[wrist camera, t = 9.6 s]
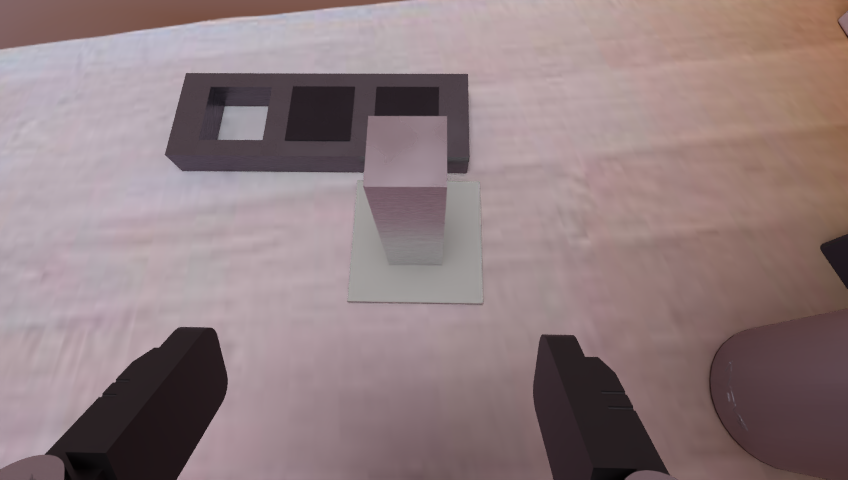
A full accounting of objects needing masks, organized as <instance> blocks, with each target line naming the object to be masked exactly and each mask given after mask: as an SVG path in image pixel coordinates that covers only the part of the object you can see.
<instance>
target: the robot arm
mask: <svg viewBox="0 0 848 480" xmlns="http://www.w3.org/2000/svg"><path fill="white" fill-rule="evenodd" d="M710 383H711V393H712V398H713V401H714V404H715V408H716V411H717V413H718V415H719V417H720V419H721V421H722V423H723V425H724V426H725V427H726V429H727V430H728V431H729V433H730V434H731V436H732V437H733V438H734V439H735V440H736V441H737V442H738V443H739V444H740V445H741V446H742V447H743V448H744V449H745V450H746V451H747V452H749V453H750V454H751V455H753V456H754V457H756V458H757V459H759V460H760V461H762V462H764V463H766V464H769V465H771V466H773V467H775V468H778V469H782V470H787V471H791V472H795V473H800V474H805V475H809V476H814V477H819V478H823V479H828V480H848V309H843V310H838V311H834V312H829V313H824V314H820V315H815V316H810V317H805V318H801V319H796V320H790V321H786V322H781V323H777V324H772V325H767V326H763V327H758V328H754V329H749V330H745V331H742V332H740V333H738V334H736V335H734V336H732V337H731V338H730V339H729V340H727V341H726V342H725V343H724V344H723V345H722V347H721V348H720V350H719V351H718V352H717V354H716V356H715V359H714V362H713V364H712V369H711V378H710ZM227 384H228V378H227V372H226V368H225V364H224V360H223V356H222V352H221V348H220V344H219V340H218V336H217V333H216V331H215V330H214V329H213V328H204V327H180V328H177V329H176V330H175V331H174V332H173V333H172V334H171V335H170V336H169V337H168V338H167V340H166V341H165V342H164V343H163V344H162V345H161V346H160V347H159V348H153V349H152V350H150V351H149V352H147V353H146V354H144V355H142V356H141V357H139V358H138V359H136V360H135V361H133V362H132V363H131V364H130V365H129V366H128V367H127V368H126V369H125V370H124V371H123V372H122V374H121V375H120V376H119V377H118V378H117V379H116V382H115V383H112V384H111V385H110V386H109V387H108V388H107V389H106V390H105V391H104V393H103V395H102V397H99V398H98V399H97V400H96V401H95V402H94V403H93V404H92V405H91V406H90V407H89V408H88V409H87V410H86V412H85V413H84V414H83V415H82V416H81V417H80V418H79V419H78V420H77V421H76V422H75V423H74V424H73V425H72V426H71V427H70V428H69V429H68V431H67V432H66V433H65V434H64V435H63V436H62V437H61V438H60V439H59V440H58V441H57V442H56V443H55V444H54V445H53V446H52V447H51V448H50V450H49V451H48V452H47V453H46V454H45V455H38V456H33V457H29V458H25V459H22V460H19V461H17V462H14V463H12V464H10V465H8V466H6V467H4V468H2V469H0V480H177V478H178V476H179V475H180V473H181V471H182V470H183V468H184V466H185V465H186V463H187V461H188V459H189V458H190V456H191V454H192V453H193V451H194V449H195V448H196V446H197V444H198V443H199V441H200V439H201V438H202V436H203V434H204V432H205V431H206V429H207V427H208V426H209V424H210V422H211V421H212V419H213V417H214V416H215V414H216V412H217V411H218V409H219V407H220V406H221V404H222V402H223V400H224V398H225V395H226V391H227ZM533 397H534V406H535V411H536V414H537V418H538V422H539V426H540V430H541V433H542V437H543V441H544V445H545V448H546V452H547V456H548V460H549V464H550V467H551V471H552V475H553V479H554V480H678V479H676V478H674V477H672V476H670V474H669V473H668V471H667V469H666V467H665V465H664V464H663V462H662V460H661V458H660V456H659V454H658V452H657V450H656V449H655V447H654V445H653V443H652V441H651V439H650V437H649V435H648V434H647V432H646V430H645V428H644V426H643V424H642V422H641V420H640V419H639V417H638V415H637V413H636V411H634V410H633V405H632V404H631V402H630V400H629V398H628V396H627V395H625V390H624V389H623V387H622V385H621V383H620V381H619V379H618V377H617V375H616V374H615V372H614V371H612V370H611V369H610V368H609V367H608V366H607V365H606V364H605V363H604V362H603V361H601V360H600V359H599V358H598V357H585V356H584V354H583V352H582V349H581V347H580V345H579V343H578V341H577V339H576V337H575V336H574V335H541V337H540V341H539V348H538V355H537V362H536V369H535V376H534V384H533Z"/></svg>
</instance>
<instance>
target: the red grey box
mask: <svg viewBox="0 0 848 480" xmlns="http://www.w3.org/2000/svg"><path fill="white" fill-rule="evenodd" d="M820 249H821V251H822V253H823V254H824V256H825V257H826V259H827V260H828V261H829V263H830V264H831V266H832V267H833V269H834V270H835V272H836V273H837V275H838V276H839V277H840V279H841V280H842V282H843V283H844V285H845V286H846V288H847V289H848V234H847V235H844V236H841V237H839V238H836V239H834V240H831V241H829V242H826V243H824V244H822V245H821V247H820Z"/></svg>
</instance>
